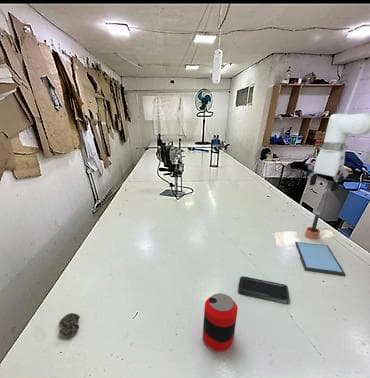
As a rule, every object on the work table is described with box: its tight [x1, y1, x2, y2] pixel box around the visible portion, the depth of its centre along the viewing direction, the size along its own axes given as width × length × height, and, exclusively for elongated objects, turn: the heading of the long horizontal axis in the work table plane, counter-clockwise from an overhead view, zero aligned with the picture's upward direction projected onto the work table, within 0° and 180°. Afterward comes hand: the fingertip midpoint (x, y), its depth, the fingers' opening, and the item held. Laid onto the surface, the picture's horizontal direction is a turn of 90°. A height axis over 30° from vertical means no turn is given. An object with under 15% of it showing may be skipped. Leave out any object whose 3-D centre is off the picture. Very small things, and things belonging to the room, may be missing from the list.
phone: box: [237, 275, 290, 304], centre depth 75 cm, size 8×1×15 cm
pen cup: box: [304, 226, 321, 241], centre depth 107 cm, size 6×6×4 cm
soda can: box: [202, 292, 239, 352], centre depth 57 cm, size 8×8×12 cm
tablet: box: [294, 241, 346, 277], centre depth 93 cm, size 13×20×1 cm, turn 166°
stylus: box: [311, 211, 321, 232], centre depth 106 cm, size 2×2×12 cm
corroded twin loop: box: [58, 312, 81, 339], centre depth 61 cm, size 5×8×1 cm, turn 23°
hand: (322, 187), depth 103 cm, fingers open, 9 cm apart
